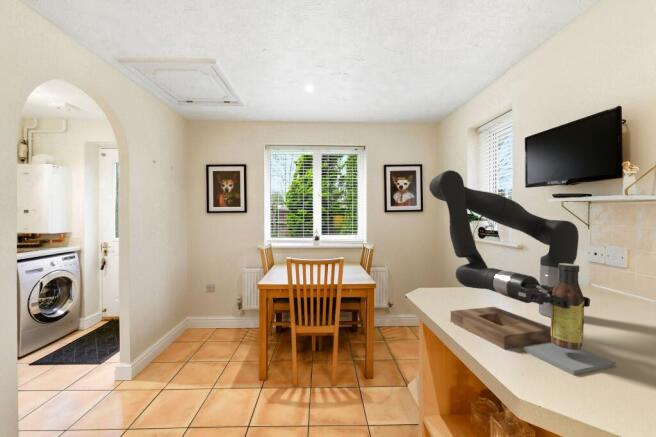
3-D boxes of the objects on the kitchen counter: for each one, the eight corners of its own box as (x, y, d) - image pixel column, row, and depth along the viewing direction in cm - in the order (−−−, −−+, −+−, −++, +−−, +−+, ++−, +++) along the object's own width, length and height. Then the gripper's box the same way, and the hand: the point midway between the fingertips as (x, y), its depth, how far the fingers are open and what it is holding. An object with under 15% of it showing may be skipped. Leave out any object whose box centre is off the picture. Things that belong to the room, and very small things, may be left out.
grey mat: (561, 344, 81) (561, 340, 81) (615, 366, 70) (615, 361, 70) (522, 350, 77) (522, 346, 77) (573, 375, 66) (573, 370, 66)
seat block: (494, 316, 102) (494, 306, 102) (554, 341, 83) (554, 328, 83) (450, 321, 97) (450, 311, 97) (504, 349, 78) (504, 335, 78)
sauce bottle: (588, 352, 70) (594, 268, 69) (558, 349, 71) (563, 266, 70) (572, 340, 76) (576, 263, 76) (544, 337, 77) (548, 261, 77)
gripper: (496, 273, 85) (558, 289, 69) (534, 272, 89) (600, 286, 73) (495, 300, 85) (556, 321, 69) (533, 297, 89) (598, 316, 73)
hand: (578, 303), depth 71 cm, fingers closed on sauce bottle, 6 cm apart
